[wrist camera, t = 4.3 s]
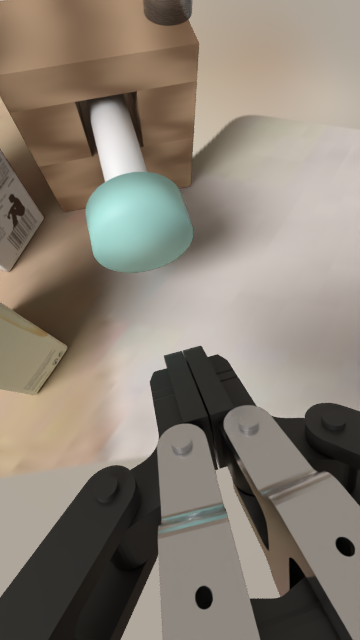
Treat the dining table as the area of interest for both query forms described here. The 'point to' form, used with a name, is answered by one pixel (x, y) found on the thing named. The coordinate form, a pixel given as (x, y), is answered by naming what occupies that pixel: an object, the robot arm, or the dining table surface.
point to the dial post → (167, 11)
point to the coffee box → (15, 216)
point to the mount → (96, 86)
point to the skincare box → (25, 353)
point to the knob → (131, 198)
